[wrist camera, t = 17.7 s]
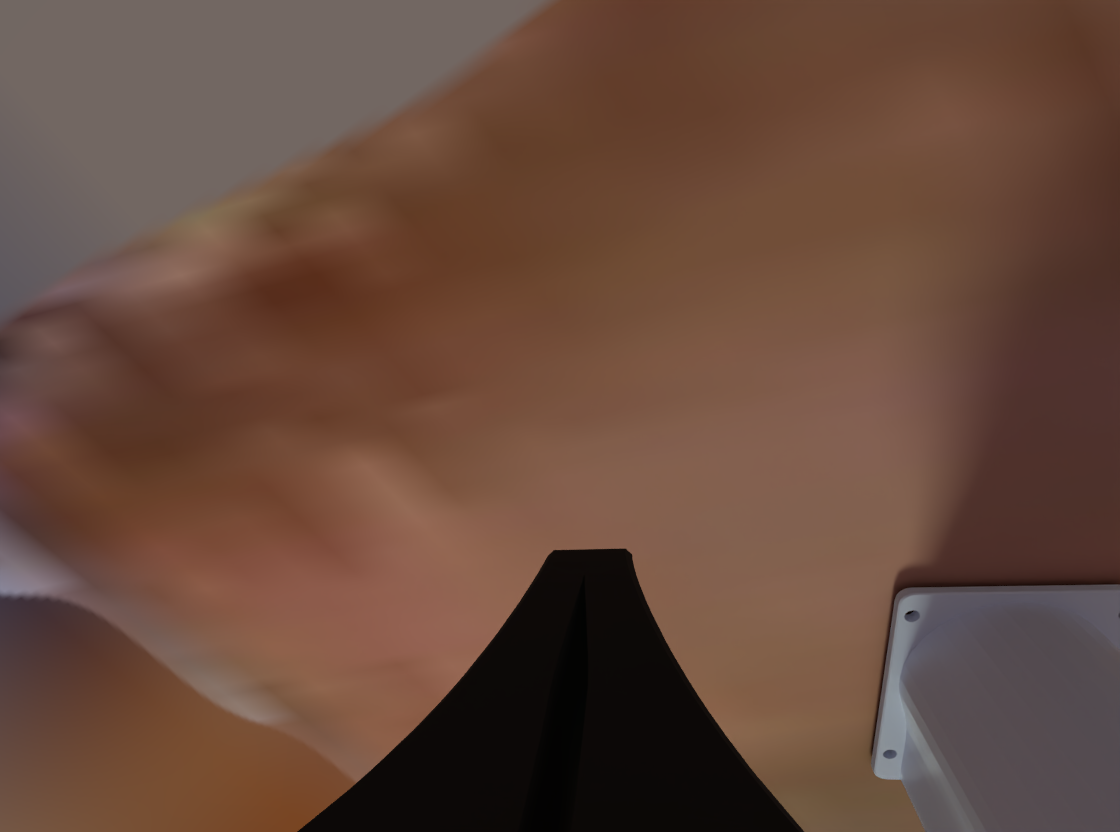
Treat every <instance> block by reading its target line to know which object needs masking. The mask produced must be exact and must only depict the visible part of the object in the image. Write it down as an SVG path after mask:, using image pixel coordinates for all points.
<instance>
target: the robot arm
mask: <svg viewBox="0 0 1120 832" xmlns="http://www.w3.org/2000/svg"><path fill="white" fill-rule="evenodd" d="M912 610H914V612H912V613H911V614H907V615H905V614H906V613H907V612H909V611H912ZM871 766H872V769H873V771H874V774H875V775H876V776H877V777H879V778H882V779H899V780H902V783H903V785H904V787H905V789H906V791H907V793H908V795H909V798H910V800H911V802H912V804H913V806H914V808H915V810H916V812H917V815H918V817H919V819H920V821H921V823H922V825H923V827H924V830H925V832H1120V584H1114V585H1046V586H978V587H911V588H905V589H903V590H901V591H900V592H899V593H898V594H897V595H896V597H895V602H894V609H893V615H892V622H891V629H890V636H889V643H888V650H887V657H886V664H885V671H884V678H883V684H882V691H881V698H880V705H879V712H878V719H877V726H876V733H875V740H874V747H873V753H872V760H871ZM298 832H804V831H803V830H802V829H801V827H800V826H799V825H798V824H797V823H796V822H795V820H794V819H793V818H792V817H791V816H790V815H789V813H788V812H787V811H786V810H785V809H784V807H783V806H782V805H781V804H780V803H779V802H778V800H777V799H776V798H775V797H774V796H773V794H772V793H771V792H770V791H769V790H768V789H767V787H766V786H765V785H764V784H763V783H762V781H761V780H760V779H759V778H758V777H757V776H756V774H755V773H754V772H753V771H752V769H751V768H750V767H749V766H748V764H747V763H746V762H745V760H744V759H743V758H742V756H741V755H740V754H739V752H738V751H737V750H736V748H735V747H734V746H733V744H732V743H731V742H730V741H729V739H728V738H727V737H726V735H725V734H724V732H723V731H722V730H721V728H720V727H719V725H718V724H717V722H716V721H715V720H714V718H713V717H712V715H711V714H710V713H709V711H708V710H707V708H706V707H705V705H704V704H703V702H702V701H701V699H700V698H699V696H698V695H697V693H696V692H695V690H694V688H693V687H692V685H691V684H690V682H689V680H688V679H687V677H686V675H685V674H684V672H683V670H682V669H681V667H680V665H679V664H678V662H677V660H676V659H675V657H674V655H673V653H672V652H671V650H670V648H669V646H668V644H667V643H666V641H665V639H664V637H663V635H662V633H661V631H660V629H659V627H658V625H657V623H656V621H655V619H654V617H653V615H652V613H651V611H650V609H649V606H648V604H647V602H646V600H645V597H644V595H643V592H642V590H641V587H640V585H639V582H638V579H637V576H636V572H635V569H634V565H633V560H632V554H631V553H630V552H628V551H627V550H626V549H589V550H554V551H553V552H552V553H551V554H550V555H548V557H547V558H546V560H545V562H544V564H543V566H542V567H541V569H540V571H539V572H538V574H537V576H536V577H535V579H534V581H533V582H532V584H531V585H530V587H529V588H528V590H527V591H526V593H525V594H524V596H523V598H522V599H521V601H520V602H519V604H518V605H517V606H516V608H515V609H514V611H513V612H512V613H511V615H510V616H509V618H508V619H507V620H506V622H505V623H504V625H503V626H502V628H501V629H500V630H499V632H498V633H497V634H496V636H495V637H494V638H493V640H492V641H491V642H490V644H489V645H488V646H487V647H486V649H485V650H484V651H483V652H482V653H481V655H480V656H479V657H478V658H477V660H476V661H475V662H474V663H473V665H472V666H471V667H470V668H469V670H468V671H467V672H466V673H465V675H464V676H463V677H462V678H461V679H460V680H459V682H458V683H457V684H456V685H455V686H454V687H453V688H452V690H451V691H450V692H449V693H448V694H447V695H446V696H445V697H444V699H443V700H442V701H441V702H440V703H439V704H438V705H437V706H436V707H435V708H434V709H433V710H432V711H431V712H430V713H429V714H428V716H427V717H426V718H425V719H424V720H423V721H422V722H421V723H420V724H419V725H418V726H417V727H416V728H415V729H414V730H413V731H412V732H411V733H410V734H409V735H408V736H407V737H406V738H405V739H404V740H402V741H401V742H400V743H399V744H398V745H397V746H396V747H395V748H394V749H393V750H392V751H391V752H390V753H389V754H388V755H387V756H386V757H385V758H384V759H383V760H382V761H380V762H379V763H378V764H377V765H376V766H375V767H374V768H373V769H372V770H371V771H370V772H368V773H367V774H366V775H365V776H364V777H363V778H362V779H361V780H359V781H358V782H357V783H356V784H355V785H354V786H353V787H352V788H351V789H349V790H348V791H347V792H346V793H344V794H343V795H342V796H341V797H339V798H338V799H337V800H336V801H335V802H333V803H332V804H331V805H330V806H328V807H327V808H326V809H325V810H323V811H322V812H321V813H320V814H319V815H317V816H316V817H315V818H314V819H312V820H311V821H310V822H309V823H307V824H306V825H305V826H304V827H303V828H301V829H300V830H299V831H298Z"/></svg>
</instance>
